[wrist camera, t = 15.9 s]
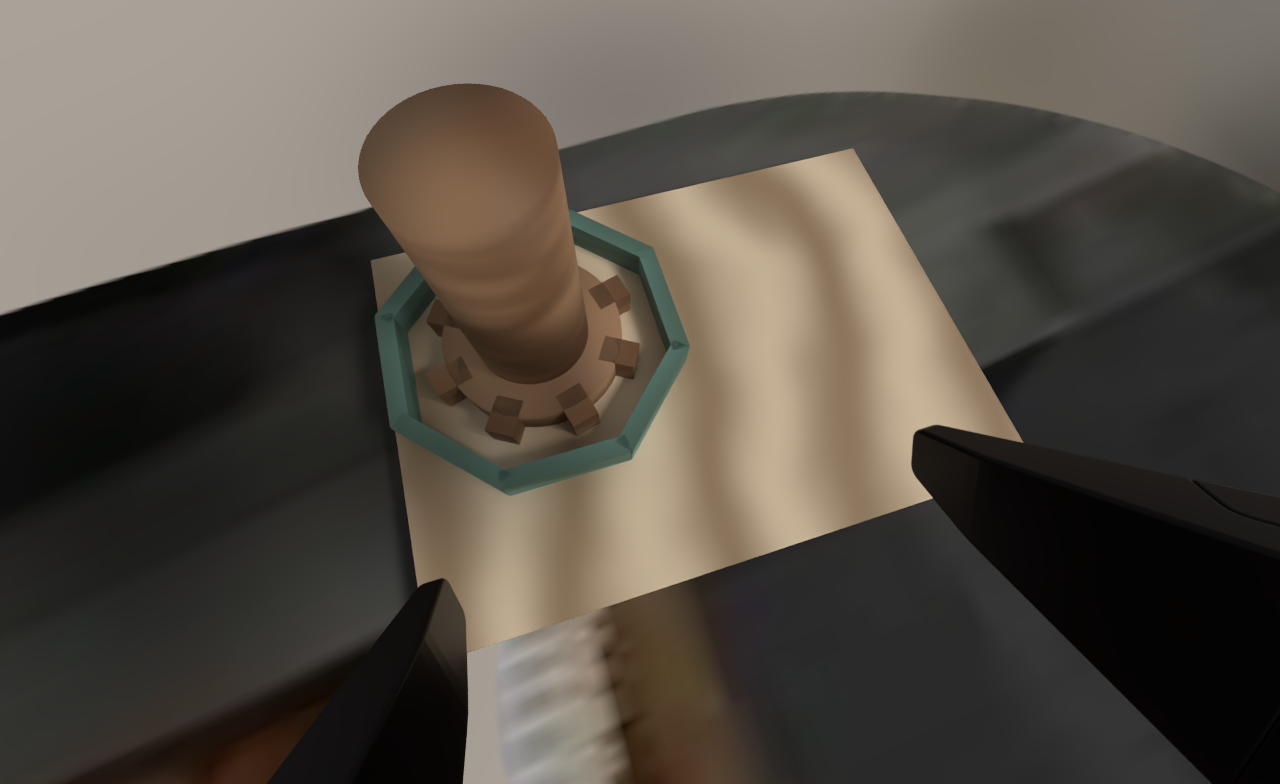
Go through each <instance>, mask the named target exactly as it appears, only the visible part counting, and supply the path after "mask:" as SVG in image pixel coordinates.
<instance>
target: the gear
mask: <svg viewBox="0 0 1280 784" xmlns="http://www.w3.org/2000/svg"><path fill="white" fill-rule="evenodd" d="M358 172H359V180H360V183H361V187H362V189H363V192H364V194H365V196H366V198H367V199H368V201H369V202H370V204H371V205H372V207H373V208H374V209H375V211H376V212H377V214H378V215H379V216H380V218H381V219H382V221H383V222H384V223H385V225H386V226H387V228H388V229H389V230H390V232H391V233H392V235H393V236H394V237H395V239H396V240H397V242H398V243H399V244H400V246H401V247H402V249H403V250H404V251H405V253H406V254H407V256H408V257H409V258H410V260H411V261H412V263H413V264H414V265H415V267H416V268H417V270H418V271H419V272H420V274H421V275H422V277H423V278H424V279H425V281H426V282H427V284H428V285H429V286H430V288H431V289H432V291H433V292H434V293H435V295H436V296H437V298H438V299H435V301H434V304H433V306H432V308H431V311H430V313H429V315H428V318H427V320H426V322H427V323H428V325H429V326H430V327H431V328H432V329H433V331H434V332H435V333H436V334H437V335H438V336H439V337H442V351H443V357H444V361H445V365H443V366H441V367H439V368H437V369H435V370H433V371H432V372H430V373H428V376H429V378H430V380H431V382H432V384H433V386H434V388H435V390H436V392H437V394H438V396H439V397H440V398H442V399H443V400H444V401H445V402H446V403H447V404H448V405H449V406H450V407H452V406H453V405H455V404H457V403H459V402H461V401H463V400H465V399H466V398H468V399H469V400H470V401H471V402H472V403H473V404H474V405H475V406H476V407H478V408H479V409H480V410H481V411H482V412H484V413H485V414H487V415H489V418H488V421H487V424H486V427H485V431H486V432H487V433H488V434H489V435H490V436H491V437H492V438H493V439H496V440H500V441H505V442H509V443H513V444H518V445H520V442H521V439H522V436H523V433H524V430H525V427H545V426H551V425H555V424H559V423H562V422H565V421H569V423H570V425H571V426H572V428H573V430H574V431H575V433H576V435H577V436H578V435H580V434H581V433H583V432H585V431H587V430H588V429H590V428H592V427H593V426H595V425H597V424H598V423H600V418H599V413H598V411H597V410H596V408H595V406H594V404H595V403H596V402H598V401H599V399H600V398H601V397H602V396H603V395H604V394H605V393H606V391H607V390H608V388H609V387H610V385H611V384H612V382H613V380H614V378H615V376H619V377H624V378H628V379H634V375H635V371H636V367H637V363H638V359H639V349H640V343H637V342H632V341H628V340H623V339H622V328H621V319H620V315H622V314H623V313H625V312H627V311H629V310H631V293H630V292H629V291H628V289H627V288H626V286H625V285H624V284H623V282H622V281H621V279H620V278H619V276H618V275H616V276H614V277H612V278H610V279H608V280H606V281H604V282H602V283H601V282H600V281H599V280H598V279H597V278H596V277H595V276H594V275H592V274H591V273H590V272H588V271H587V270H585V269H583V268H581V267H580V266H578V264H577V258H576V252H575V246H574V240H573V235H572V229H571V223H570V217H569V211H568V205H567V199H566V194H565V188H564V182H563V176H562V170H561V164H560V159H559V153H558V147H557V142H556V138H555V134H554V132H553V129H552V127H551V125H550V123H549V122H548V120H547V118H546V117H545V116H544V115H543V114H542V112H541V111H540V110H539V109H538V108H537V107H535V106H534V105H533V104H532V103H531V102H529V101H527V100H526V99H525V98H523V97H521V96H519V95H517V94H515V93H513V92H510V91H508V90H505V89H502V88H498V87H494V86H489V85H481V84H454V85H447V86H441V87H438V88H433V89H429V90H427V91H424V92H421V93H418V94H416V95H414V96H412V97H410V98H408V99H406V100H404V101H402V102H401V103H399V104H397V105H396V106H395V107H393V108H392V109H391V110H389V111H388V112H387V113H386V114H385V115H384V116H383V117H381V118H380V119H379V121H378V122H377V123H376V124H375V125H374V126H373V128H372V129H371V131H370V132H369V134H368V135H367V137H366V139H365V141H364V144H363V146H362V149H361V153H360V156H359V165H358Z"/></svg>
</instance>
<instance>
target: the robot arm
mask: <svg viewBox="0 0 1280 784" xmlns="http://www.w3.org/2000/svg"><path fill="white" fill-rule="evenodd" d="M911 467H912V471H913V473H914V475H915V477H916V478H917V480H918V481H919V482H920V483H921V484H922V486H923V487H924V488H925V489H926V490H927V492H928V493H929V494H930V495H931V496H932V498H933V499H934V500H935V501H936V502H937V504H938V505H939V506H940V507H941V508H942V510H943V511H944V512H945V513H946V514H947V516H948V517H949V518H950V519H951V520H952V522H953V523H954V524H955V525H956V526H957V528H958V529H959V530H960V531H961V532H962V533H963V535H964V536H965V537H966V538H967V539H968V540H969V541H970V542H971V543H972V544H973V545H974V547H975V548H976V549H977V550H978V551H979V552H980V553H981V554H982V555H983V556H984V557H985V558H986V559H987V560H988V561H989V562H990V563H991V564H992V565H993V566H994V567H995V568H996V569H997V570H998V571H999V572H1000V573H1001V574H1002V575H1003V576H1004V577H1005V578H1006V579H1007V580H1008V581H1009V582H1010V583H1011V584H1012V585H1013V586H1014V587H1015V588H1016V589H1017V590H1018V591H1019V592H1020V593H1021V594H1022V595H1023V596H1024V597H1025V598H1026V599H1027V600H1028V601H1029V602H1030V603H1031V604H1032V605H1033V606H1034V607H1035V608H1036V609H1037V610H1038V611H1039V612H1040V613H1041V614H1042V615H1043V616H1044V617H1045V618H1046V619H1047V620H1048V621H1049V622H1050V623H1051V624H1052V625H1053V626H1054V627H1055V628H1056V629H1057V630H1058V631H1059V632H1060V633H1061V634H1062V635H1063V636H1064V637H1065V638H1066V639H1067V640H1068V641H1069V642H1070V643H1071V644H1072V645H1073V646H1074V647H1075V648H1077V649H1078V650H1079V651H1080V652H1081V653H1082V654H1083V655H1084V656H1085V657H1086V658H1087V659H1088V660H1089V661H1090V662H1091V663H1092V664H1093V665H1094V666H1095V667H1096V668H1097V669H1098V670H1099V671H1100V672H1101V673H1102V674H1103V675H1104V676H1105V677H1106V678H1107V679H1108V680H1109V681H1110V682H1111V683H1112V684H1113V685H1114V686H1115V687H1116V688H1117V689H1118V690H1119V691H1120V692H1121V693H1122V694H1123V695H1124V696H1125V697H1126V698H1127V699H1128V700H1129V701H1130V702H1131V703H1132V704H1133V705H1134V706H1135V707H1136V708H1137V709H1138V710H1139V711H1140V712H1141V713H1142V714H1143V715H1144V716H1145V717H1146V718H1147V719H1148V720H1149V721H1150V722H1151V723H1152V724H1153V725H1154V726H1155V727H1156V728H1157V729H1158V730H1159V731H1160V732H1161V733H1162V734H1163V735H1164V736H1165V737H1166V738H1167V739H1168V740H1169V741H1170V742H1171V743H1172V744H1173V745H1174V746H1175V747H1176V748H1177V749H1178V750H1179V751H1180V752H1181V753H1182V754H1183V755H1184V756H1185V757H1186V758H1187V759H1188V760H1189V761H1190V762H1191V763H1192V764H1193V765H1194V766H1195V767H1196V768H1197V769H1198V770H1199V771H1200V772H1201V773H1202V774H1203V775H1204V776H1205V777H1206V778H1207V779H1208V780H1209V781H1210V782H1211V783H1212V784H1280V497H1278V496H1273V495H1268V494H1263V493H1258V492H1253V491H1248V490H1243V489H1238V488H1234V487H1229V486H1224V485H1219V484H1215V483H1210V482H1205V481H1201V480H1196V479H1194V480H1190V479H1188V478H1186V477H1181V476H1177V475H1172V474H1167V473H1163V472H1158V471H1153V470H1148V469H1144V468H1139V467H1134V466H1130V465H1125V464H1120V463H1116V462H1111V461H1106V460H1102V459H1097V458H1092V457H1087V456H1083V455H1078V454H1073V453H1069V452H1064V451H1059V450H1055V449H1050V448H1045V447H1041V446H1036V445H1031V444H1026V443H1022V442H1017V441H1012V440H1008V439H1003V438H998V437H994V436H989V435H984V434H980V433H975V432H970V431H966V430H961V429H956V428H951V427H947V426H942V425H931V426H928V427H925V428H922V429H919V430H917V431H916V432H915V433H914V435H913V443H912V457H911ZM467 722H468V679H467V640H466V619H465V614H464V611H463V608H462V606H461V604H460V602H459V600H458V598H457V597H456V595H455V593H454V591H453V589H452V587H451V585H450V583H449V582H448V581H447V580H446V579H444V578H440V579H437V580H433V581H430V582H427V583H424V584H422V585H420V586H419V587H418V588H417V589H416V591H415V592H414V593H413V594H412V596H411V597H410V598H409V600H408V601H407V602H406V604H405V605H404V606H403V607H402V609H401V610H400V611H399V613H398V614H397V615H396V616H395V618H394V619H393V620H392V622H391V623H390V624H389V626H388V627H387V628H386V629H385V631H384V632H383V633H382V635H381V636H380V637H379V639H378V640H377V641H376V642H375V644H374V645H373V646H372V648H371V649H370V650H369V652H368V653H367V654H366V655H365V657H364V658H363V659H362V661H361V662H360V663H359V665H358V666H357V667H356V668H355V670H354V671H353V672H352V674H351V675H350V676H349V677H348V679H347V680H346V681H345V683H344V684H343V685H342V687H341V688H340V689H339V690H338V692H337V693H336V694H335V696H334V697H333V698H332V700H331V701H330V702H329V703H328V705H327V706H326V707H325V709H324V710H323V711H322V713H321V714H320V715H319V716H318V718H317V719H316V720H315V722H314V723H313V724H312V725H311V727H310V728H309V729H308V731H307V732H306V733H305V735H304V736H303V737H302V738H301V740H300V741H299V742H298V744H297V745H296V746H295V748H294V749H293V750H292V751H291V753H290V754H289V755H288V757H287V758H286V759H285V761H284V762H283V763H282V764H281V766H280V767H279V768H278V770H277V771H276V772H275V773H274V775H273V776H272V777H271V779H270V780H269V781H268V783H267V784H463V773H464V761H465V749H466V737H467Z"/></svg>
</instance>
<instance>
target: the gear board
mask: <svg viewBox="0 0 1280 784" xmlns="http://www.w3.org/2000/svg"><path fill="white" fill-rule="evenodd" d="M568 211H569V217H570V223H571V229H572V235H573V240H574V246H575V252H576V258H577V264H578V266H580V267H581V268H583V269H585V270H587V271H588V272H590V273H591V274H592V275H594V276H595V277H596V278H597V279H598V280H599V281H600V282H601V283H602V282H604V281H606V280H608V279H610V278H612V277H614V276H616V275H618V276H619V278H620V279H621V281H622V282H623V284H624V285H625V286H626V288H627V289H628V291H629V292H630V293H631V310H629V311H627V312H625V313H623V314H622V315H620V319H621V328H622V339H623V340H628V341H632V342H637V343H640V349H639V359H638V363H637V367H636V371H635V375H634V379H628V378H624V377H619V376H615V378H614V380H613V382H612V384H611V385H610V387H609V388H608V390H607V391H606V393H605V394H604V395H603V396H602V397H601V398H600V399H599V401H598V402H596V403H595V404H594V406H595V408H596V410H597V411H598V413H599V418H600V423H598V424H597V425H595V426H593V427H592V428H590V429H588V430H587V431H585V432H583V433H581V434H580V435H578V436H577V435H576V433H575V431H574V430H573V428H572V426H571V425H570V423H569V421H565V422H562V423H559V424H555V425H551V426H545V427H525V430H524V433H523V436H522V439H521V442H520V445H518V444H513V443H509V442H505V441H500V440H496V439H493V438H492V437H491V436H490V435H489V434H488V433H487V432H486V431H485V427H486V424H487V421H488V418H489V415H487V414H485V413H484V412H482V411H481V410H480V409H479V408H478V407H476V406H475V405H474V404H473V403H472V402H471V401H470V400H469V399H468V398H466V399H465V400H463V401H461V402H459V403H457V404H455V405H453V406H452V407H450V406H449V405H448V404H447V403H446V402H445V401H444V400H443V399H442V398H440V397H439V396H438V394H437V392H436V390H435V388H434V386H433V384H432V382H431V380H430V378H429V376H428V373H430V372H432V371H433V370H435V369H437V368H439V367H441V366H443V365H445V361H444V357H443V351H442V337H439V336H438V335H437V334H436V333H435V332H434V331H433V329H432V328H431V327H430V326H429V325H428V323H427V322H426V320H427V318H428V315H429V313H430V311H431V308H432V306H433V304H434V301H435V299H438V298H437V296H436V295H435V293H434V292H433V291H432V289H431V288H430V286H429V285H428V284H427V282H426V281H425V279H424V278H423V277H422V275H421V274H420V272H419V271H418V270H417V268H416V267H415V265H414V264H413V263H412V261H411V260H410V258H409V257H408V256H407V254H406V253H401V254H396V255H392V256H388V257H383V258H379V259H375V260H371V266H372V273H373V280H374V287H375V293H376V300H377V307H378V312H377V313H376V315H375V325H376V332H377V339H378V346H379V353H380V360H381V367H382V374H383V381H384V389H385V396H386V403H387V410H388V417H389V424H390V428H391V429H392V430H394V431H395V432H396V439H397V446H398V453H399V460H400V467H401V474H402V481H403V488H404V495H405V502H406V509H407V516H408V523H409V530H410V536H411V543H412V550H413V557H414V564H415V571H416V578H417V585H418V587H419V586H420V585H422V584H424V583H427V582H430V581H433V580H437V579H440V578H444V579H446V580H447V581H448V582H449V583H450V585H451V587H452V589H453V591H454V593H455V595H456V597H457V598H458V600H459V602H460V604H461V606H462V608H463V611H464V614H465V619H466V640H467V653H469V652H472V651H475V650H478V649H481V648H484V647H487V646H490V645H493V644H496V643H499V642H502V641H505V640H508V639H511V638H514V637H517V636H520V635H523V634H526V633H529V632H532V631H535V630H538V629H541V628H544V627H547V626H550V625H553V624H556V623H559V622H562V621H565V620H568V619H571V618H574V617H577V616H580V615H583V614H586V613H589V612H592V611H595V610H598V609H601V608H604V607H607V606H610V605H613V604H616V603H619V602H622V601H625V600H628V599H631V598H634V597H637V596H640V595H643V594H646V593H649V592H652V591H655V590H658V589H661V588H664V587H667V586H670V585H673V584H676V583H679V582H682V581H685V580H688V579H691V578H694V577H697V576H700V575H703V574H706V573H709V572H712V571H715V570H718V569H721V568H724V567H727V566H730V565H733V564H736V563H739V562H742V561H746V560H749V559H752V558H755V557H758V556H761V555H764V554H767V553H770V552H773V551H776V550H779V549H782V548H785V547H788V546H791V545H794V544H797V543H800V542H803V541H806V540H809V539H812V538H815V537H818V536H821V535H824V534H827V533H830V532H833V531H836V530H839V529H842V528H845V527H848V526H851V525H854V524H857V523H860V522H863V521H866V520H869V519H872V518H875V517H878V516H881V515H884V514H887V513H890V512H893V511H896V510H899V509H902V508H905V507H908V506H911V505H914V504H917V503H920V502H923V501H926V500H929V499H932V496H931V495H930V494H929V493H928V492H927V490H926V489H925V488H924V487H923V486H922V484H921V483H920V482H919V481H918V480H917V478H916V477H915V475H914V473H913V471H912V467H911V457H912V443H913V435H914V433H915V432H916V431H917V430H919V429H922V428H925V427H928V426H931V425H942V426H947V427H951V428H956V429H961V430H966V431H970V432H975V433H980V434H984V435H989V436H994V437H998V438H1003V439H1008V440H1012V441H1017V442H1022V443H1023V441H1022V440H1021V438H1020V436H1019V434H1018V433H1017V431H1016V429H1015V428H1014V426H1013V424H1012V422H1011V421H1010V419H1009V417H1008V415H1007V414H1006V412H1005V410H1004V409H1003V407H1002V405H1001V403H1000V402H999V400H998V398H997V396H996V395H995V393H994V391H993V390H992V388H991V386H990V384H989V383H988V381H987V379H986V377H985V376H984V374H983V372H982V370H981V369H980V367H979V365H978V364H977V362H976V360H975V358H974V357H973V355H972V353H971V351H970V350H969V348H968V346H967V345H966V343H965V341H964V339H963V338H962V336H961V334H960V332H959V331H958V329H957V327H956V326H955V324H954V322H953V320H952V319H951V317H950V315H949V313H948V312H947V310H946V308H945V307H944V305H943V303H942V301H941V300H940V298H939V296H938V294H937V293H936V291H935V289H934V288H933V286H932V284H931V282H930V281H929V279H928V277H927V275H926V274H925V272H924V270H923V269H922V267H921V265H920V263H919V262H918V260H917V258H916V256H915V255H914V253H913V251H912V250H911V248H910V246H909V244H908V243H907V241H906V239H905V237H904V236H903V234H902V232H901V231H900V229H899V227H898V225H897V224H896V222H895V220H894V218H893V217H892V215H891V213H890V211H889V210H888V208H887V206H886V205H885V203H884V201H883V199H882V198H881V196H880V194H879V192H878V191H877V189H876V187H875V186H874V184H873V182H872V180H871V179H870V177H869V175H868V173H867V172H866V170H865V168H864V167H863V165H862V163H861V161H860V160H859V158H858V156H857V154H856V153H855V151H854V149H848V150H844V151H840V152H836V153H831V154H827V155H823V156H818V157H814V158H810V159H805V160H801V161H797V162H792V163H788V164H784V165H780V166H775V167H771V168H767V169H762V170H758V171H754V172H749V173H745V174H741V175H737V176H732V177H728V178H724V179H719V180H715V181H711V182H706V183H702V184H698V185H693V186H689V187H685V188H681V189H676V190H672V191H668V192H663V193H659V194H655V195H650V196H646V197H642V198H637V199H633V200H629V201H625V202H620V203H616V204H612V205H607V206H603V207H599V208H594V209H590V210H586V211H582V212H575V211H573V210H570V209H568Z"/></svg>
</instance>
